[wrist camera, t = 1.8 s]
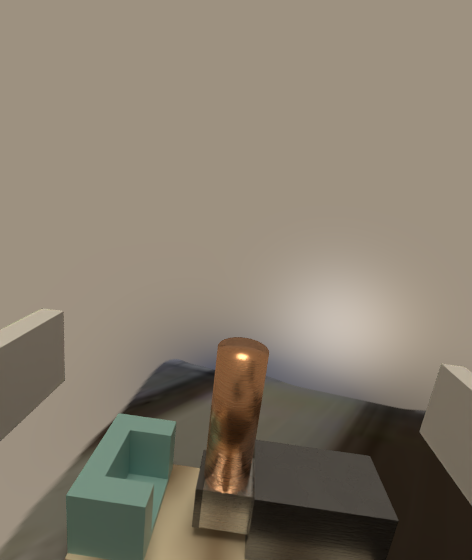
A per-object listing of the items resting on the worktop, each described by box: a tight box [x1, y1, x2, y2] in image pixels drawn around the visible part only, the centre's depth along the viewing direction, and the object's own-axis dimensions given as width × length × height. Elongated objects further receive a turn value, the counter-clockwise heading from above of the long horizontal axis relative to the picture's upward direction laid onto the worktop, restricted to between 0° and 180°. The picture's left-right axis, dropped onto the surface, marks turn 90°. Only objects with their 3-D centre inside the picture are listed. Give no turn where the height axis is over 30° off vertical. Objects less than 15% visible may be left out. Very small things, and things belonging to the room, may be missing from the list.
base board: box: [65, 465, 246, 560], centre depth 29 cm, size 25×10×1 cm, turn 86°
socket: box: [66, 414, 176, 560], centre depth 28 cm, size 6×9×6 cm, turn 176°
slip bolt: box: [192, 337, 269, 534], centre depth 26 cm, size 15×4×16 cm, turn 86°
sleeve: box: [245, 440, 398, 560], centre depth 28 cm, size 11×6×6 cm, turn 86°
